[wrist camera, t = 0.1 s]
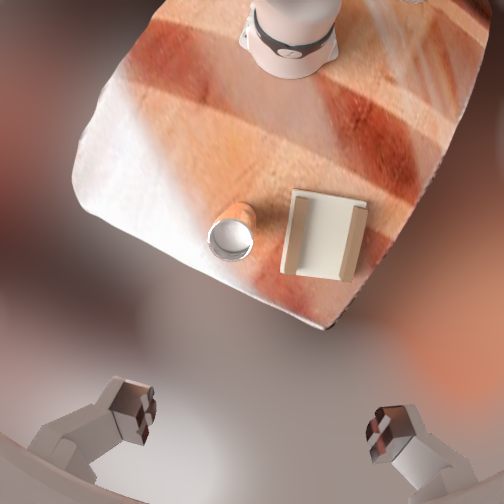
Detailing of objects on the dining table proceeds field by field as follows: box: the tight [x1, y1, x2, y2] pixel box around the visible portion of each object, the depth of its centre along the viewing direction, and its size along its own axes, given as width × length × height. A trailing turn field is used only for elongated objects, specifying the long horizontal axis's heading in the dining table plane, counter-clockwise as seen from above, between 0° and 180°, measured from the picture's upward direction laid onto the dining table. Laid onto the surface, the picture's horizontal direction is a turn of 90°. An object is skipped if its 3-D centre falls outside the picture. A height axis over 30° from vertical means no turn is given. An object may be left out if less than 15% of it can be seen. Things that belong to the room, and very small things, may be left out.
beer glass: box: [208, 203, 256, 262], centre depth 49 cm, size 7×7×15 cm
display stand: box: [280, 189, 369, 283], centre depth 53 cm, size 16×14×6 cm
